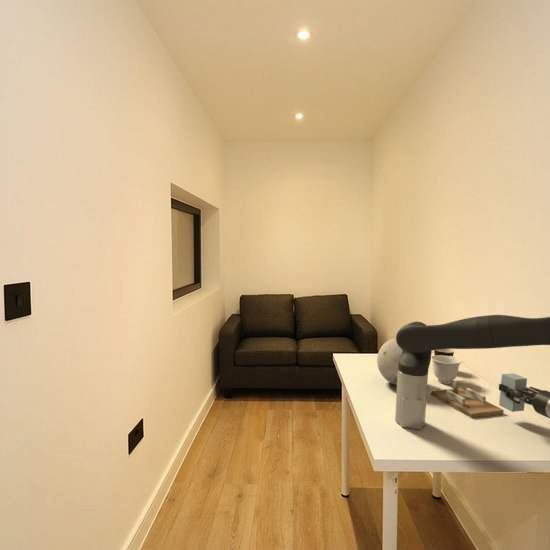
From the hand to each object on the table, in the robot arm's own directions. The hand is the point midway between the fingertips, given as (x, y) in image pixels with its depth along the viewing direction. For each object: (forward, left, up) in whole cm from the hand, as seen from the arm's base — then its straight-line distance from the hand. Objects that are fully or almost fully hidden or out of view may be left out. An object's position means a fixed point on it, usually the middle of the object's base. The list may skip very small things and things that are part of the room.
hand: (506, 386), depth 122 cm
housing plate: (+8, +10, -11) cm, 17 cm away
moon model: (+20, +32, -11) cm, 39 cm away
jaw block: (-2, -1, -7) cm, 7 cm away
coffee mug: (+48, +10, -11) cm, 50 cm away
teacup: (+32, +12, -11) cm, 36 cm away
